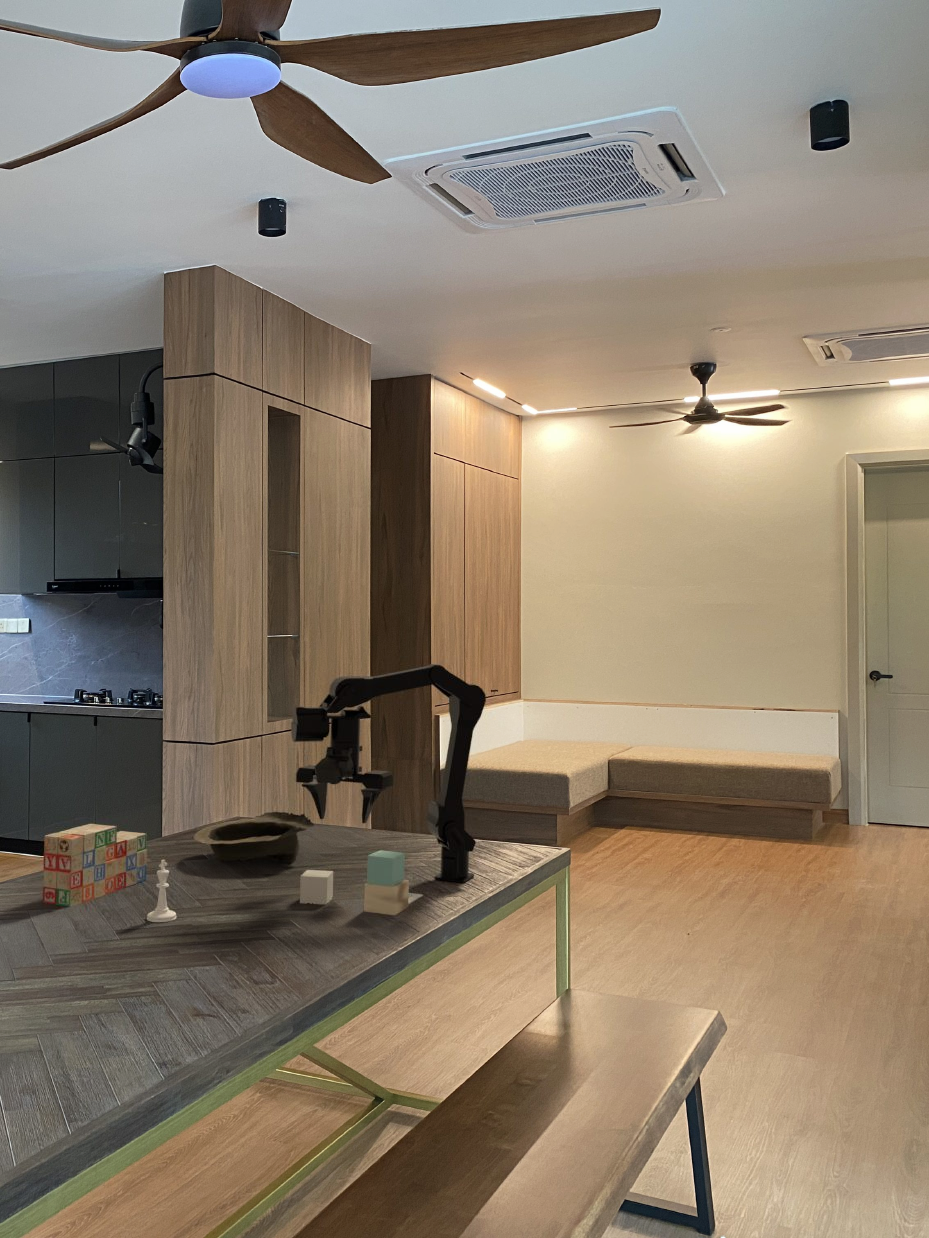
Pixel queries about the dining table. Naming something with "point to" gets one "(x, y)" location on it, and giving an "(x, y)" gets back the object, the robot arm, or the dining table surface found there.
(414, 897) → the card
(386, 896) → the maple block
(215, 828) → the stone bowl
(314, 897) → the beige block
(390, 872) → the teal block
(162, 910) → the chess piece
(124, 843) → the stack of blocks
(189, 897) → the dining table surface
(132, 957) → the dining table surface
